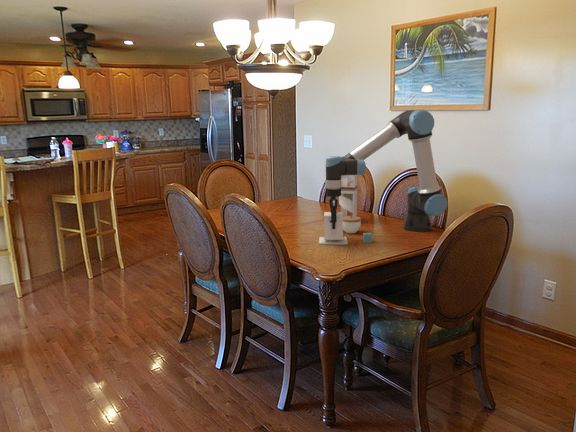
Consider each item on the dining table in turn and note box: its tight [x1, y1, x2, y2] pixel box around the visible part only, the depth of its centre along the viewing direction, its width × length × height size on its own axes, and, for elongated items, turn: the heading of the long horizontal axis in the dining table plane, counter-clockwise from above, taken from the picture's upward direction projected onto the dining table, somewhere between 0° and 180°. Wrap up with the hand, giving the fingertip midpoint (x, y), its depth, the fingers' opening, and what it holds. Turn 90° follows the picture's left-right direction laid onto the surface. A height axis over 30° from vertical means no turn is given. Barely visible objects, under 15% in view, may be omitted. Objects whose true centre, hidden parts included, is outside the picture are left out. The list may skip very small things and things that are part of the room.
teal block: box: [362, 232, 373, 243], centre depth 234 cm, size 4×4×4 cm
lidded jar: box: [343, 215, 362, 234], centre depth 252 cm, size 11×11×9 cm
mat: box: [318, 236, 349, 246], centre depth 235 cm, size 14×12×1 cm
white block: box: [323, 211, 344, 240], centre depth 234 cm, size 9×9×12 cm
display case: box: [338, 175, 358, 217], centre depth 274 cm, size 11×11×35 cm
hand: (333, 232), depth 234 cm, fingers closed on white block, 9 cm apart
